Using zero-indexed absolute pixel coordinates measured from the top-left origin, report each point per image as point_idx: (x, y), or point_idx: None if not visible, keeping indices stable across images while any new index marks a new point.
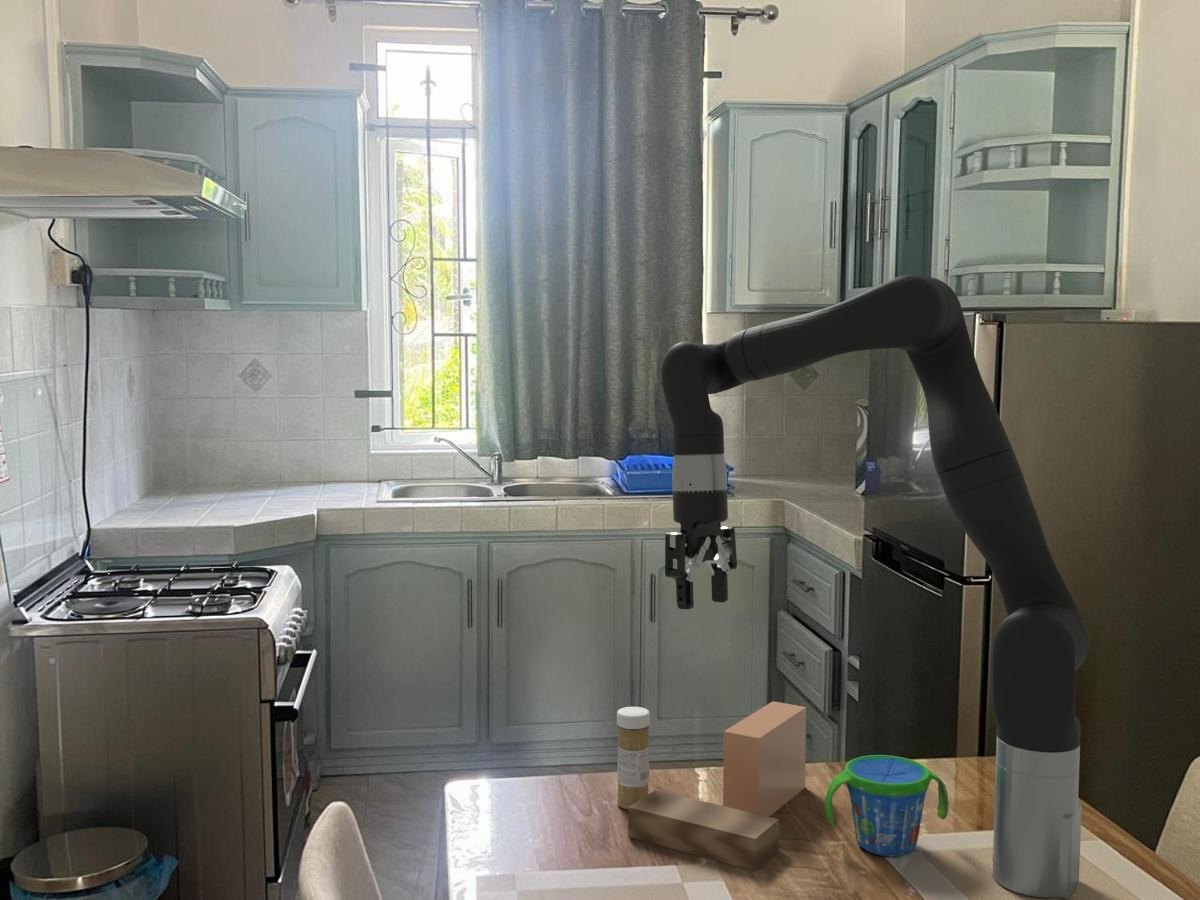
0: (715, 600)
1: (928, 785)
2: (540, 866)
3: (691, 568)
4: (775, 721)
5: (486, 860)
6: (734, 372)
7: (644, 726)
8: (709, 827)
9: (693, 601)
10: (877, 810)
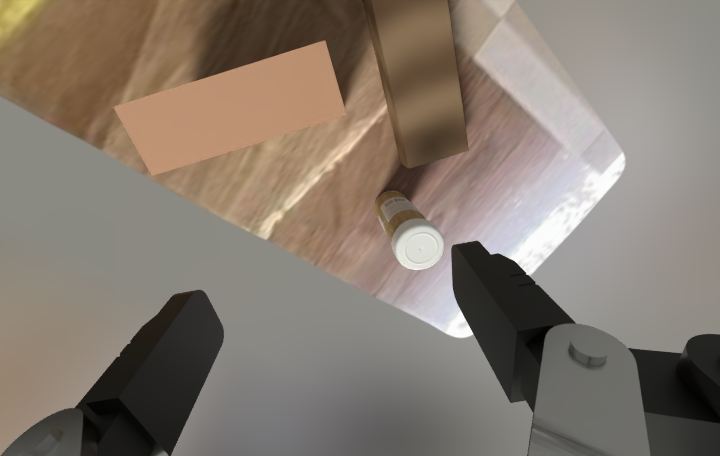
0: (218, 326)
1: None
2: (556, 152)
3: (625, 421)
4: (230, 87)
5: (573, 194)
6: None
7: (418, 218)
8: (451, 31)
9: (463, 256)
10: None
